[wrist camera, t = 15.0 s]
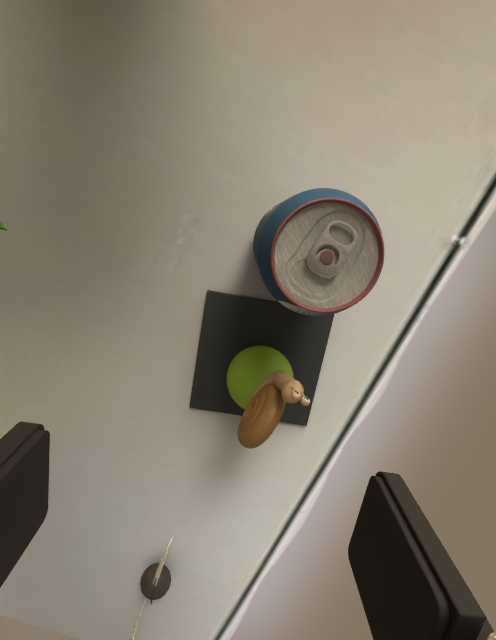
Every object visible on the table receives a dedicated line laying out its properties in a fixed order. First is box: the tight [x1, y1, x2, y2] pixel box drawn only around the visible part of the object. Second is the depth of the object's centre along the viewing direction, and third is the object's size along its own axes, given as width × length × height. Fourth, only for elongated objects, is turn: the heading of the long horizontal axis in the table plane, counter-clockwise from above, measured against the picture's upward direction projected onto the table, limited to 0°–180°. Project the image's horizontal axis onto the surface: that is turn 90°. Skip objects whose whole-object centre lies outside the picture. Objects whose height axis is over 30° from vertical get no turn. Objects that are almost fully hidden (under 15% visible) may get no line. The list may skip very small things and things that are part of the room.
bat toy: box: [131, 536, 173, 640], centre depth 36 cm, size 3×15×5 cm, turn 159°
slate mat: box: [190, 290, 334, 426], centre depth 32 cm, size 11×11×1 cm
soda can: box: [253, 188, 384, 316], centre depth 24 cm, size 7×7×12 cm
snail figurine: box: [227, 346, 310, 448], centre depth 26 cm, size 5×6×12 cm
